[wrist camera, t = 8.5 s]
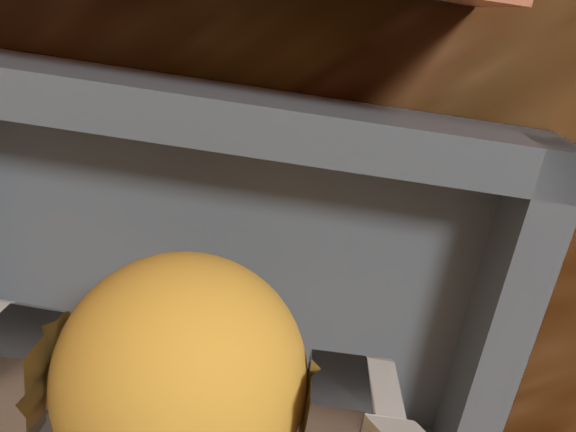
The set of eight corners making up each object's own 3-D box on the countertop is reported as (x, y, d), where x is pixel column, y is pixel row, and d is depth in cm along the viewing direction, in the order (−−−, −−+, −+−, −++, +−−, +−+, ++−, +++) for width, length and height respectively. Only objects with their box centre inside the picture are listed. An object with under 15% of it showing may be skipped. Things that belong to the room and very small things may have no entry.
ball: (326, 232, 11) (328, 369, 7) (294, 408, 13) (281, 604, 8) (107, 199, 11) (-21, 316, 7) (103, 379, 13) (-3, 562, 8)
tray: (551, 130, 12) (600, 157, 10) (453, 441, 16) (473, 511, 13) (-65, 38, 12) (-146, 45, 10) (-35, 367, 16) (-92, 425, 13)
